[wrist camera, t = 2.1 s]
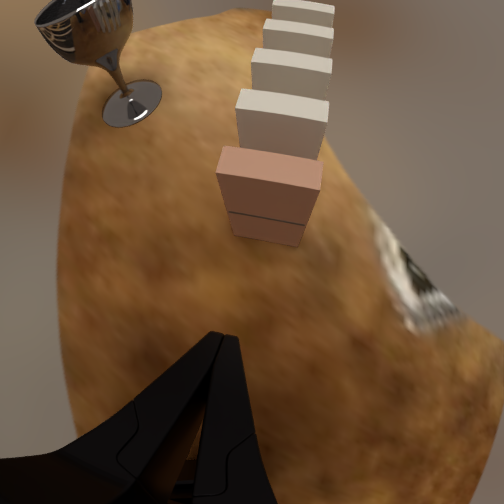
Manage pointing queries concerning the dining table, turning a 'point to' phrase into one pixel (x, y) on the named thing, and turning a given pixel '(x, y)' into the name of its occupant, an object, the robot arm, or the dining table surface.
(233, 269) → the dining table surface
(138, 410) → the robot arm
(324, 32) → the domino
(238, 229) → the domino
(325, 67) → the domino
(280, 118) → the domino
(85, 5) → the wine glass
